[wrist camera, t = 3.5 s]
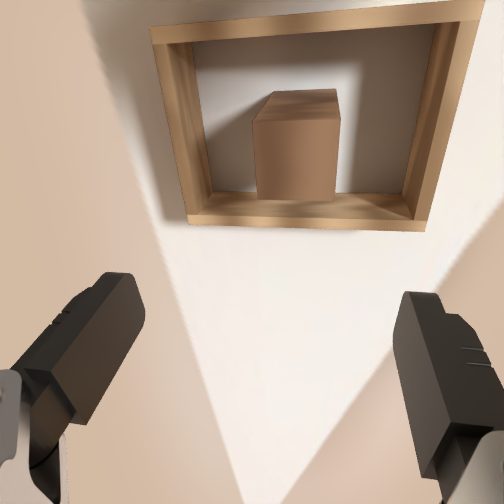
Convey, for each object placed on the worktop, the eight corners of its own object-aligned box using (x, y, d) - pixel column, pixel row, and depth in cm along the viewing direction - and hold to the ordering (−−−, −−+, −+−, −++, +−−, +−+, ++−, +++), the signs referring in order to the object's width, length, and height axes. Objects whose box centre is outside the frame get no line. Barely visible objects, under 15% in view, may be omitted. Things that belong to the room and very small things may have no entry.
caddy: (456, 1, 22) (485, -3, 18) (411, 203, 31) (424, 231, 27) (176, 25, 26) (148, 26, 22) (204, 200, 34) (188, 224, 30)
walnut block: (335, 88, 26) (340, 119, 18) (331, 150, 29) (334, 201, 21) (273, 91, 27) (252, 121, 19) (275, 151, 30) (257, 199, 22)
